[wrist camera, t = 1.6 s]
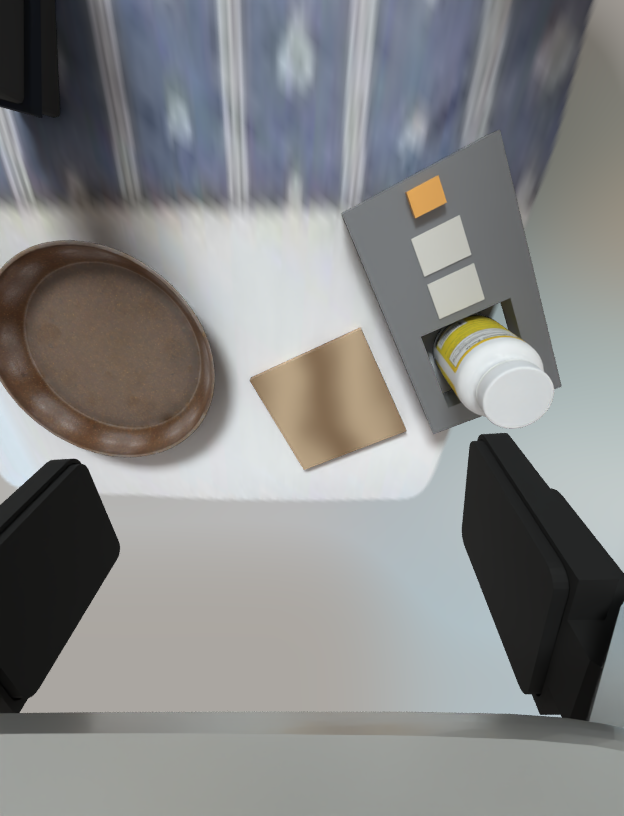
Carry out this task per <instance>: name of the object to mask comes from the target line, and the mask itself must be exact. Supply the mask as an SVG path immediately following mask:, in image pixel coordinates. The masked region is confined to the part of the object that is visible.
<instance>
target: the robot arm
mask: <svg viewBox="0 0 624 816" xmlns="http://www.w3.org/2000/svg"><path fill="white" fill-rule="evenodd" d="M469 448H470V449H469V458H468V469H467V479H466V491H465V501H464V512H463V522H462V537H463V542H464V546H465V548H466V551H467V553H468V556H469V558H470V561H471V564H472V566H473V569H474V571H475V573H476V576H477V579H478V581H479V584H480V587H481V589H482V592H483V594H484V597H485V600H486V602H487V605H488V607H489V610H490V612H491V615H492V617H493V620H494V622H495V625H496V628H497V630H498V633H499V635H500V638H501V640H502V643H503V646H504V648H505V651H506V653H507V656H508V659H509V661H510V664H511V666H512V669H513V671H514V674H515V677H516V679H517V682H518V684H519V686H520V689H521V690H522V692H523V693H524V694H532V696H533V698H534V701H535V703H536V706H537V708H538V711H539V713H540V715H554V714H555V715H561V716H562V718H560V717H546V716H532V715H518V714H486V713H485V714H484V713H436V712H435V713H434V712H104V713H103V712H92V713H91V712H90V713H88V712H86V713H84V712H83V713H20V711H21V709H22V708H23V706H24V704H25V703H26V701H27V699H28V698H30V697H32V696H33V695H34V694H35V693H36V692H37V690H38V689H39V688H40V686H41V684H42V683H43V681H44V679H45V678H46V676H47V674H48V673H49V671H50V669H51V668H52V666H53V664H54V663H55V661H56V659H57V658H58V656H59V654H60V653H61V651H62V649H63V648H64V646H65V645H66V643H67V641H68V639H69V638H70V636H71V635H72V633H73V631H74V630H75V628H76V626H77V625H78V623H79V621H80V620H81V618H82V616H83V614H84V613H85V611H86V610H87V608H88V606H89V605H90V603H91V601H92V600H93V598H94V596H95V595H96V593H97V591H98V590H99V588H100V586H101V585H102V583H103V581H104V580H105V578H106V577H107V575H108V573H109V572H110V570H111V568H112V567H113V565H114V563H115V562H116V560H117V558H118V556H119V552H120V544H119V541H118V539H117V536H116V534H115V532H114V529H113V527H112V524H111V522H110V520H109V518H108V515H107V513H106V511H105V508H104V506H103V504H102V501H101V498H100V496H99V494H98V491H97V489H96V487H95V484H94V482H93V479H92V477H91V475H90V472H89V470H88V468H87V467H86V466H85V465H84V464H81V462H80V461H79V460H77V459H61V460H51V461H49V462H47V463H46V464H45V465H44V466H43V467H42V468H40V469H39V470H38V471H37V472H36V473H35V474H34V475H33V476H32V477H31V478H29V479H28V480H27V481H26V482H25V483H24V484H23V485H22V486H21V487H20V488H18V489H17V490H16V491H15V492H14V493H13V494H12V495H11V496H10V497H9V498H8V499H6V500H5V501H4V502H3V503H2V504H1V505H0V816H624V573H623V572H622V571H621V569H620V568H619V567H618V565H617V564H616V563H615V562H614V561H613V559H612V558H611V557H610V555H609V554H608V553H607V552H606V550H605V549H604V548H603V546H602V545H601V544H600V543H599V541H598V540H597V539H596V538H595V536H594V535H593V534H592V533H591V531H590V530H589V529H588V528H587V526H586V525H585V524H584V523H583V521H582V520H581V519H580V518H579V516H578V515H577V514H576V512H575V511H574V510H573V509H572V507H571V506H570V505H569V503H568V502H567V501H566V500H565V498H564V497H563V496H562V495H561V494H560V493H559V492H558V491H557V490H555V489H550V488H549V486H548V485H547V484H546V483H545V481H544V480H543V479H542V477H541V476H540V475H539V473H538V472H537V471H536V470H535V468H534V467H533V466H532V464H531V463H530V462H529V460H528V459H527V458H526V457H525V455H524V454H523V453H522V451H521V450H520V449H519V448H518V446H517V445H516V444H515V442H514V441H513V440H512V438H511V437H510V436H509V435H508V434H507V433H499V434H498V433H497V434H481V435H480V436H479V437H478V440H477V441H472V442H471V443H470V447H469Z"/></svg>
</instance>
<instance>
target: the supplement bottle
mask: <svg viewBox="0 0 624 816" xmlns="http://www.w3.org/2000/svg"><path fill="white" fill-rule="evenodd" d="M433 354H434V359H435V362H436V364H437V366H438V368H439V370H440V371H441V373H442V374H443V376H444V377H445V379H446V380H447V382H448V383H449V385H450V386H451V388H452V389H453V391H454V392H455V394H456V395H457V397H458V398H459V400H460V401H461V402H462V403H463V405H464V406H465V407H466V408H468V409H469V410H470V411H472V412H474V413H476V414H478V415H481V416H485V417H487V418H488V419H489V420H490V421H491V422H492V423H493V424H495V425H497V426H499V427H503V428H509V429H512V428H520V427H524V426H527V425H530V424H532V423H533V422H535V421H536V420H538V419H539V418H541V417H542V416H543V415H544V414H545V413H546V411H547V410H548V409H549V407H550V405H551V403H552V400H553V396H554V386H553V383H552V381H551V379H550V377H549V376H548V375H547V374H546V373H545V372H544V368H543V363H542V360H541V358H540V356H539V354H538V353H537V352H536V351H535V350H534V349H533V348H532V347H531V346H530V345H529V344H528V343H526V342H525V341H523V340H522V339H520V338H519V337H517V336H516V335H515V334H513V333H512V332H510V331H509V330H507V329H506V328H504V327H503V326H502V325H500V324H499V323H497V322H496V321H494V320H493V319H491V318H489V317H487V316H484V315H480V314H472V315H470V316H468V317H465V318H463V319H461V320H458V321H456V322H454V323H452V324H449V325H447V326H445V327H443V328H442V329H441V331H440V332H439V334H438V335H437V337H436V340H435V343H434V348H433Z"/></svg>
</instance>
